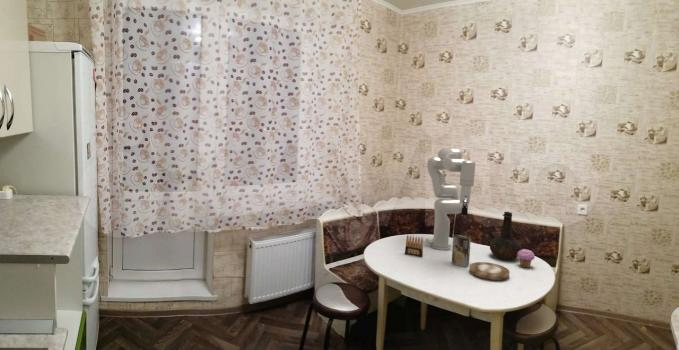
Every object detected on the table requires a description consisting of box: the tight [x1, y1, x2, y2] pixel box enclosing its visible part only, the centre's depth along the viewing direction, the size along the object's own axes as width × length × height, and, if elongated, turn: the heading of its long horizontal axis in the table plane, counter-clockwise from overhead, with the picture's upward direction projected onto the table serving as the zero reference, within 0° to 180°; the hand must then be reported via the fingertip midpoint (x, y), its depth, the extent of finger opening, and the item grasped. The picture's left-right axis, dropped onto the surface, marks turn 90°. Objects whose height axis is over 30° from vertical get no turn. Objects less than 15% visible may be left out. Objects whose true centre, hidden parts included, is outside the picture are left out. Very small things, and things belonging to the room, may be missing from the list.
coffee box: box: [451, 234, 472, 268], centre depth 227 cm, size 9×6×16 cm
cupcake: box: [517, 248, 535, 269], centre depth 227 cm, size 9×9×10 cm
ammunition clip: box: [404, 234, 424, 258], centre depth 239 cm, size 11×2×12 cm, turn 60°
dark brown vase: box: [489, 211, 523, 261], centre depth 240 cm, size 18×18×28 cm
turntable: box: [469, 261, 511, 281], centre depth 214 cm, size 20×20×2 cm
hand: (464, 213), depth 224 cm, fingers open, 9 cm apart
